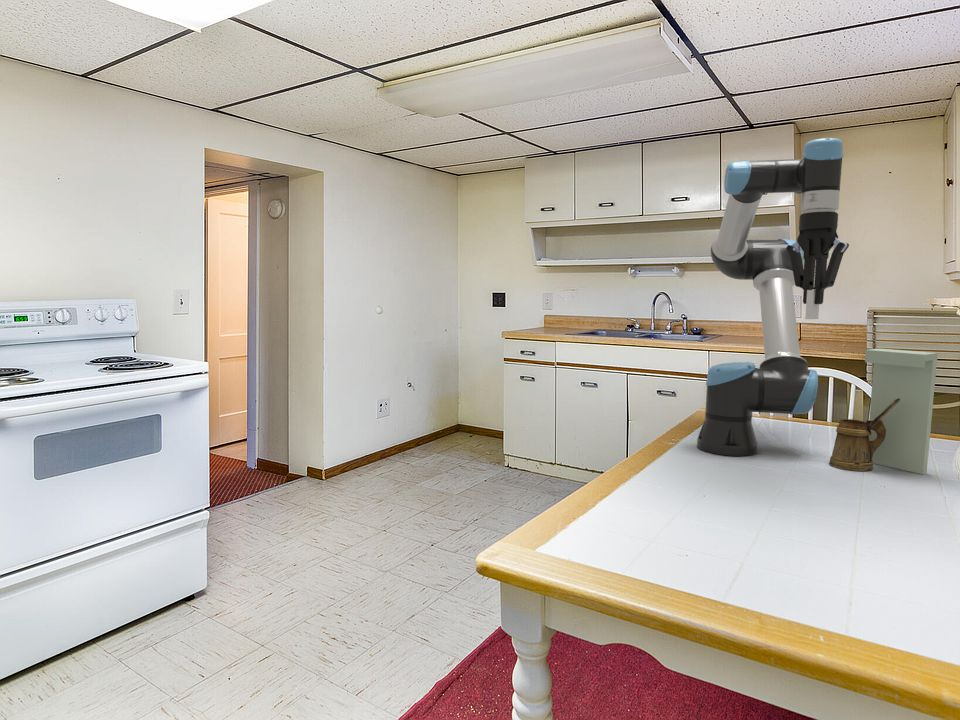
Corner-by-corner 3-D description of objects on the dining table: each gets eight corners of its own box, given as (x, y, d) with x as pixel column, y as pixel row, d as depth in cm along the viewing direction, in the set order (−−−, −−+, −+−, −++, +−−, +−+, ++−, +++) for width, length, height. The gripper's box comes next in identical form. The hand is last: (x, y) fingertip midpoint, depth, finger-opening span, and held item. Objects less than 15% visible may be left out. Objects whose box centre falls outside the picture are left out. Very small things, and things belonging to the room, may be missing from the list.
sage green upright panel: (857, 464, 152) (865, 349, 149) (869, 460, 156) (878, 348, 153) (914, 477, 142) (925, 354, 139) (926, 472, 146) (937, 353, 142)
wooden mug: (892, 477, 142) (898, 400, 140) (826, 467, 150) (831, 394, 148) (896, 469, 149) (902, 395, 147) (832, 459, 157) (837, 389, 155)
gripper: (781, 214, 140) (774, 318, 142) (840, 208, 129) (832, 320, 132) (799, 216, 144) (793, 317, 146) (858, 210, 133) (850, 319, 136)
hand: (811, 318), depth 139 cm, fingers closed
